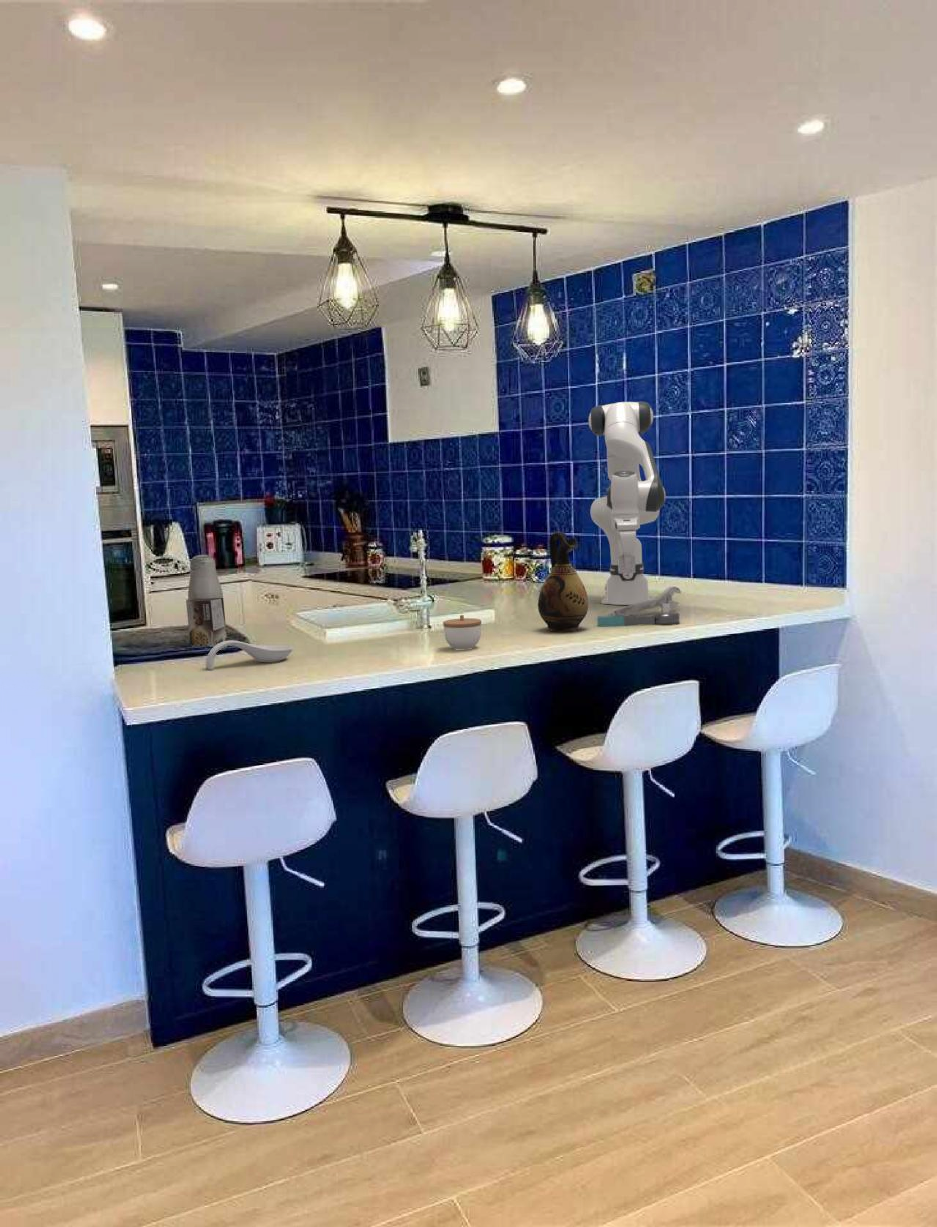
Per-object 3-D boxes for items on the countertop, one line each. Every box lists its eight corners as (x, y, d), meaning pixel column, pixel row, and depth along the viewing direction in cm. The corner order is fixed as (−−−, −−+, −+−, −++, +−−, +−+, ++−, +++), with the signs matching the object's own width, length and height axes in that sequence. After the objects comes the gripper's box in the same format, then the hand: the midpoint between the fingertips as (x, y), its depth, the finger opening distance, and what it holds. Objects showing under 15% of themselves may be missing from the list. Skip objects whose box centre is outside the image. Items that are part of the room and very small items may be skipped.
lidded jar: (485, 644, 274) (483, 612, 273) (478, 651, 264) (477, 617, 263) (448, 645, 276) (447, 613, 275) (440, 651, 266) (439, 618, 265)
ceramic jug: (599, 629, 291) (596, 530, 287) (556, 635, 284) (553, 534, 280) (567, 623, 306) (564, 529, 302) (526, 629, 299) (522, 532, 295)
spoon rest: (284, 655, 274) (282, 631, 273) (299, 661, 264) (297, 635, 263) (201, 667, 261) (199, 641, 260) (214, 673, 251) (212, 646, 250)
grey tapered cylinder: (201, 641, 307) (193, 553, 303) (231, 640, 305) (224, 552, 302) (187, 646, 298) (179, 556, 294) (218, 646, 296) (210, 555, 292)
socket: (618, 572, 306) (617, 556, 305) (634, 571, 305) (633, 555, 305) (619, 573, 301) (618, 557, 300) (635, 572, 300) (635, 556, 300)
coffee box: (229, 651, 285) (224, 597, 283) (215, 655, 279) (210, 600, 277) (203, 650, 288) (199, 597, 286) (190, 654, 282) (185, 600, 280)
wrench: (609, 628, 313) (679, 607, 326) (612, 628, 311) (683, 608, 325) (606, 603, 311) (677, 584, 325) (609, 604, 310) (680, 585, 323)
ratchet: (597, 623, 303) (596, 604, 302) (677, 620, 301) (677, 601, 300) (598, 627, 295) (597, 608, 294) (681, 624, 293) (680, 605, 292)
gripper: (613, 522, 312) (614, 564, 313) (617, 525, 291) (618, 570, 293) (633, 521, 311) (634, 564, 313) (638, 524, 291) (639, 569, 293)
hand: (626, 567), depth 303 cm, fingers closed on socket, 5 cm apart
